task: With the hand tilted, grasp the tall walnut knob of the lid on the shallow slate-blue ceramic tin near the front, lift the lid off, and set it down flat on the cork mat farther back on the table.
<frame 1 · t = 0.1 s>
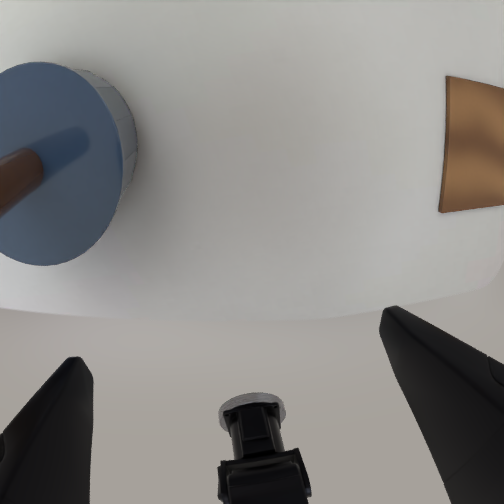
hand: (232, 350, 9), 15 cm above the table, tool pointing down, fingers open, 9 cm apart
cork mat: (481, 146, 22), on the table
canister: (61, 149, 18), on the table
lid: (28, 168, 14), point 5 cm above the table, touching canister
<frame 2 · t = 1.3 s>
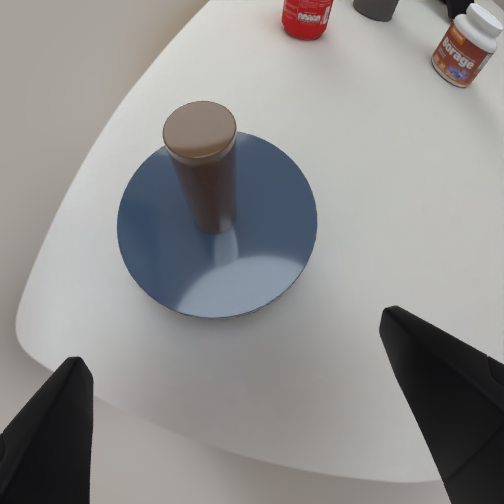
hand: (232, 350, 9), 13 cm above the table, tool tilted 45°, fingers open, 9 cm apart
bottle: (371, 11, 33), on the table
beverage can: (302, 31, 31), on the table
pill bottle: (449, 72, 31), on the table
lid: (215, 216, 19), point 5 cm above the table, touching canister
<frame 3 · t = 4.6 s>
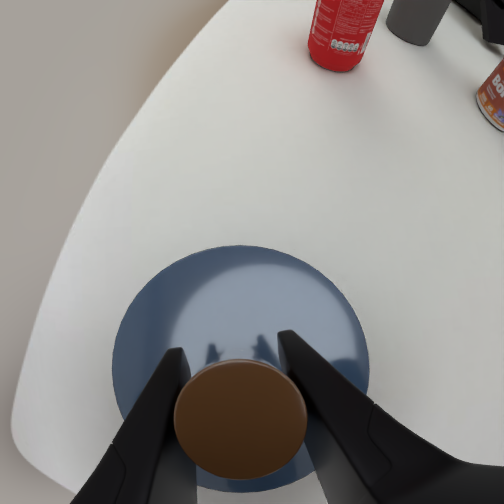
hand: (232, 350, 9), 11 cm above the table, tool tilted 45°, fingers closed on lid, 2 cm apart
bottle: (406, 32, 28), on the table
beverage can: (332, 58, 26), on the table
light fixture: (465, 14, 33), on the table
pill bottle: (493, 113, 26), on the table
lid: (240, 375, 14), point 5 cm above the table, touching canister, gripper
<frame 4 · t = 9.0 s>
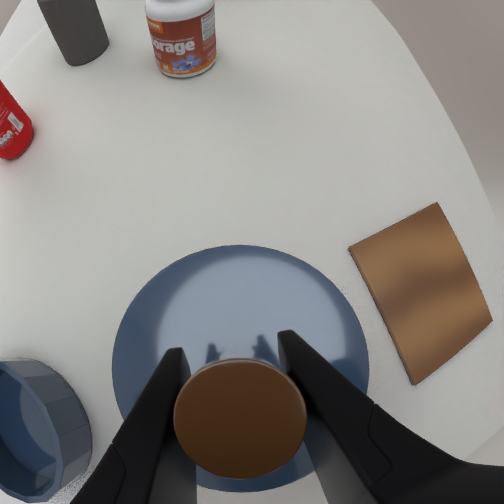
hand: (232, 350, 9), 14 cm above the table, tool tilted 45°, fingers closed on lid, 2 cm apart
bottle: (87, 51, 29), on the table
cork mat: (429, 288, 23), on the table
canister: (35, 423, 19), on the table
beverage can: (18, 142, 26), on the table
pill bottle: (187, 62, 29), on the table
lid: (240, 375, 14), point 8 cm above the table, touching gripper
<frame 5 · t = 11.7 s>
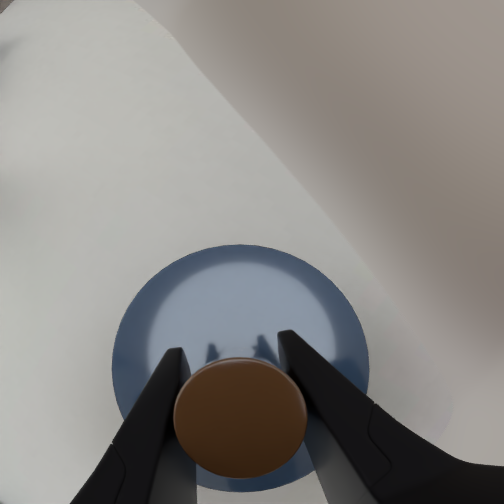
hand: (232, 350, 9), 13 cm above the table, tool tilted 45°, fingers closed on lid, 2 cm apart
lid: (240, 374, 14), point 7 cm above the table, touching gripper
when the fingers open (7 cm above the table, at t = 13.6 s): lid stays where it is, resting on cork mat.
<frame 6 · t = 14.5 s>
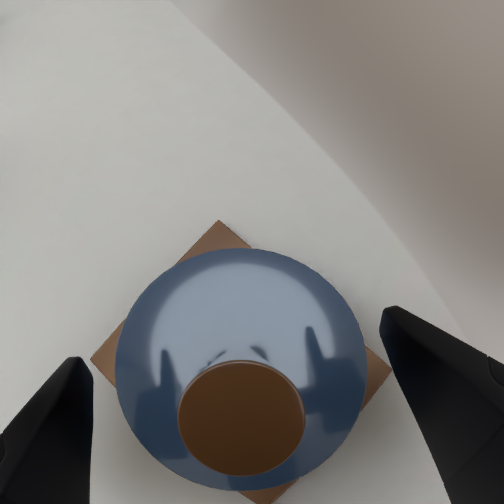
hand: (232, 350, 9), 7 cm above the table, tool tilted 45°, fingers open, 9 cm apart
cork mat: (241, 373, 15), on the table
lid: (240, 375, 14), point 1 cm above the table, touching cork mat
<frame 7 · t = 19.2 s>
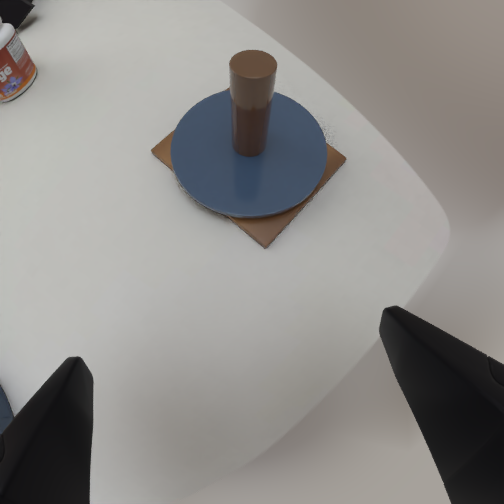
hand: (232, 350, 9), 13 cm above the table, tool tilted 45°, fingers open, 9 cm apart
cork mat: (248, 154, 24), on the table
light fixture: (7, 22, 33), on the table
pill bottle: (19, 85, 27), on the table
lid: (249, 146, 23), point 1 cm above the table, touching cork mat
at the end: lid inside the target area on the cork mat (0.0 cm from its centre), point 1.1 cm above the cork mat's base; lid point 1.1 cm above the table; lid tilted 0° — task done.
